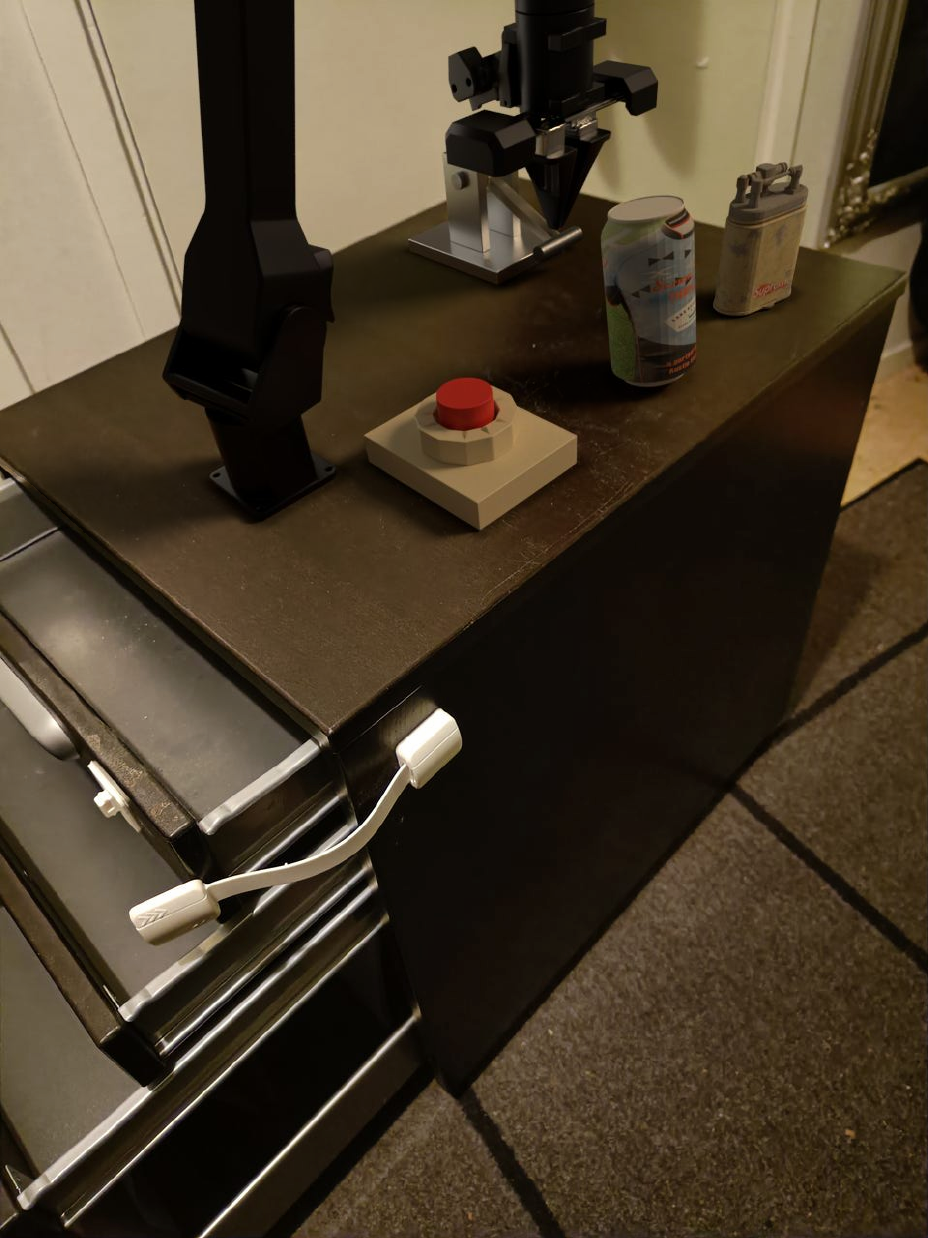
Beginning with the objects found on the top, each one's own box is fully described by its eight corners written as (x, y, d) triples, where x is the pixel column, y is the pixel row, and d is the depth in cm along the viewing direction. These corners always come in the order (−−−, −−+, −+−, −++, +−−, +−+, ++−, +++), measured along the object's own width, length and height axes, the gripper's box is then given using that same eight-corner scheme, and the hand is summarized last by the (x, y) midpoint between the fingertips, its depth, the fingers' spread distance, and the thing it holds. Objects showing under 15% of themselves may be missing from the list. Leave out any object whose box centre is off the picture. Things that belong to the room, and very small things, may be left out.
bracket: (565, 249, 77) (566, 145, 71) (497, 285, 74) (491, 179, 67) (476, 219, 84) (469, 121, 77) (409, 251, 80) (396, 151, 74)
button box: (577, 463, 55) (577, 411, 52) (479, 531, 51) (475, 479, 48) (463, 404, 61) (458, 355, 58) (368, 461, 57) (358, 411, 54)
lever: (577, 249, 74) (586, 226, 72) (539, 269, 72) (547, 247, 69) (487, 164, 76) (493, 139, 74) (447, 181, 74) (452, 157, 72)
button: (506, 414, 53) (504, 390, 52) (465, 439, 52) (463, 415, 51) (467, 394, 55) (465, 371, 54) (427, 418, 54) (424, 395, 52)
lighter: (767, 279, 70) (791, 149, 63) (802, 295, 68) (831, 162, 60) (703, 306, 68) (720, 175, 61) (737, 323, 66) (759, 189, 58)
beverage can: (669, 407, 59) (687, 233, 50) (579, 379, 62) (582, 213, 53) (709, 365, 62) (733, 195, 53) (622, 342, 65) (631, 178, 56)
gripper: (558, -31, 68) (559, 174, 79) (383, 25, 60) (412, 243, 71) (670, -21, 62) (653, 199, 73) (492, 43, 54) (504, 278, 65)
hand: (556, 227), depth 71 cm, fingers closed
